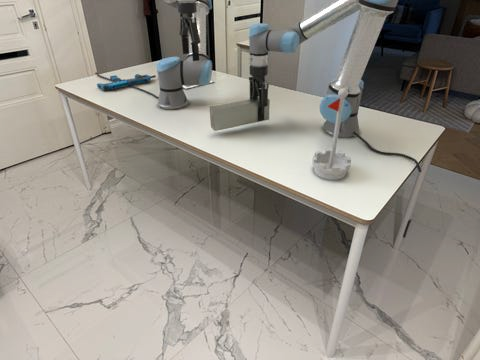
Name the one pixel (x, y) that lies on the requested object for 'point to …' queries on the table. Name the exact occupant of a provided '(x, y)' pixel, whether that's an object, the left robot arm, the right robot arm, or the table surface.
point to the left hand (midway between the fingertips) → (190, 57)
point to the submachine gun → (124, 82)
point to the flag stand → (333, 149)
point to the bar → (236, 114)
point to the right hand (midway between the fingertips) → (258, 118)
